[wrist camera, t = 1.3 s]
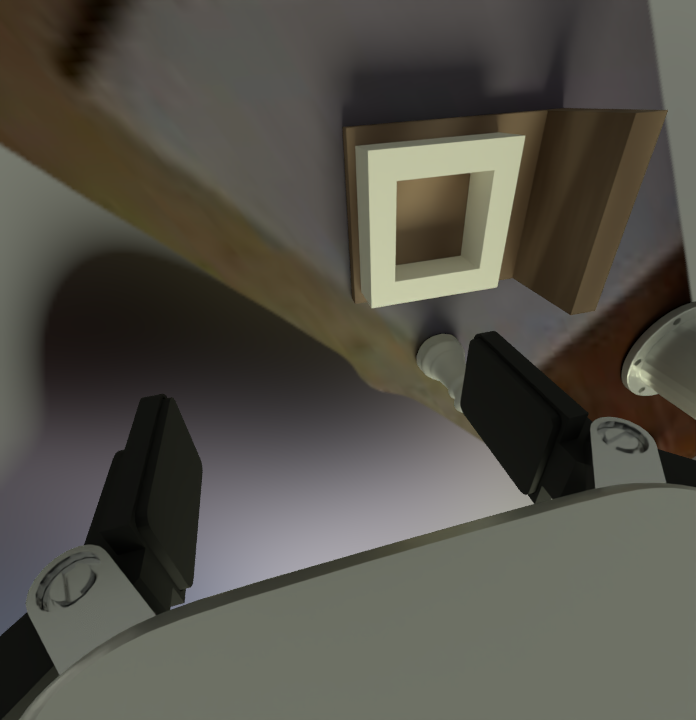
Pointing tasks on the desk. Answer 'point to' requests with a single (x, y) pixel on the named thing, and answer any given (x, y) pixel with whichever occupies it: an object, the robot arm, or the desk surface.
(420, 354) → the rook chess piece
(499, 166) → the socket block
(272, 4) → the desk surface
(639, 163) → the wooden bookend
